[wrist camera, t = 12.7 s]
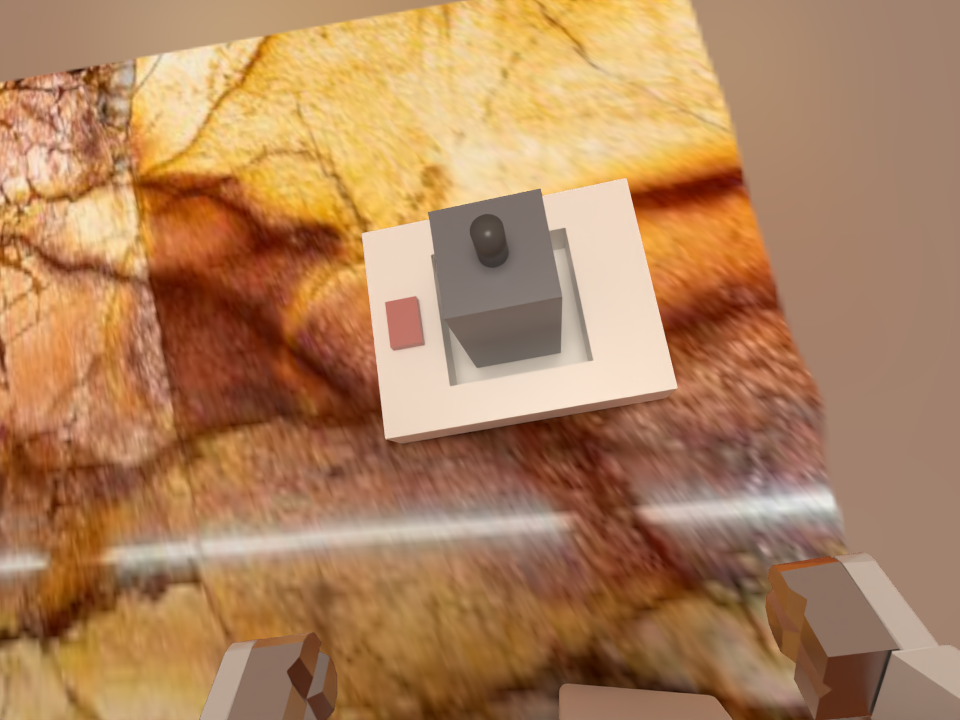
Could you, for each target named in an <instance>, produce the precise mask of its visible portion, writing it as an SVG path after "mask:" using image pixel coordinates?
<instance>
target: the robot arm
mask: <svg viewBox="0 0 960 720" xmlns="http://www.w3.org/2000/svg"><path fill="white" fill-rule="evenodd" d="M768 580H769V582H770V584H771V586H772V588H773V589H772V590H771V591H770V592H769V593H768V594H767V595H766V612H767V617H768V622H769V626H770V628H771V631H772V634H773V636H774V639H775V641H776V643H777V645H778V647H779V649H780V651H781V653H783V654H784V655H786V656H787V657H788V658H790V659H791V660H792V661H794V662H795V663H796V668H795V675H794V680H795V682H796V684H797V686H798V688H799V690H800V692H801V694H802V696H803V698H804V700H805V702H806V704H807V706H808V708H809V710H810V712H811V714H812V716H813V718H814V720H830V719H841V718H852V717H863V716H872V717H871V719H872V720H960V650H958V649H957V648H955V647H953V646H952V645H950V644H945V645H939V644H938V643H937V642H936V640H935V639H934V638H933V636H932V635H931V634H930V632H929V631H928V630H927V628H926V627H925V626H924V624H923V623H922V622H921V620H920V619H919V618H918V616H917V615H916V614H915V612H914V611H913V610H912V609H911V607H910V606H909V604H908V603H907V602H906V601H905V599H904V598H903V597H902V595H901V594H900V593H899V591H898V590H897V589H896V587H895V586H894V585H893V583H892V582H891V581H890V579H889V578H888V577H887V576H886V574H885V573H884V571H883V570H882V569H881V567H880V566H879V565H878V564H877V562H876V561H875V560H874V558H873V557H871V556H870V555H868V554H867V553H862V552H859V553H853V554H847V555H841V556H835V557H830V556H828V557H822V558H816V559H810V560H804V561H798V562H791V563H785V564H779V565H773V566H772V567H771V568H770V569H769V572H768ZM320 646H321V641H320V640H319V638H318V637H317V635H316V634H315V633H314V632H312V633H305V634H297V635H290V636H282V637H275V638H268V639H257V640H250V641H244V642H237V643H232V644H231V646H230V647H229V648H228V650H227V651H226V652H225V654H224V656H223V659H222V662H221V664H220V667H219V669H218V672H217V675H216V677H215V680H214V682H213V685H212V688H211V690H210V693H209V695H208V698H207V701H206V703H205V706H204V708H203V711H202V714H201V716H200V719H199V720H327V719H328V718H329V717H330V715H331V714H332V713H333V711H334V709H335V703H336V697H337V673H336V669H335V665H334V663H333V661H332V659H331V658H330V656H328V655H326V654H324V653H322V652H320V651H319V650H320Z"/></svg>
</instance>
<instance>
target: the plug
mask: <svg viewBox="0 0 960 720" xmlns="http://www.w3.org/2000/svg"><path fill="white" fill-rule="evenodd" d="M428 214H429V221H430V228H431V235H432V241H433V248H434V255H435V262H436V269H437V275H438V282H439V289H440V296H441V303H442V310H443V316H444V320H445V322H446V323H447V325H448V326H449V328H450V329H451V331H452V332H453V333H454V335H455V336H456V338H457V339H458V341H459V342H460V344H461V345H462V347H463V348H464V350H465V351H466V353H467V354H468V356H469V357H470V359H471V360H472V362H473V363H474V365H475V366H476V368H480V367H486V366H491V365H497V364H502V363H508V362H513V361H519V360H524V359H530V358H535V357H540V356H546V355H551V354H557V353H561V328H562V292H561V287H560V282H559V277H558V272H557V267H556V262H555V257H554V253H553V248H552V243H551V238H550V233H549V228H548V223H547V218H546V213H545V208H544V203H543V198H542V193H541V189H536V190H532V191H527V192H522V193H517V194H513V195H508V196H503V197H498V198H494V199H489V200H484V201H479V202H475V203H470V204H465V205H460V206H456V207H451V208H446V209H441V210H437V211H432V212H428Z"/></svg>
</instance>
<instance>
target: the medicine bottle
mask: <svg viewBox="0 0 960 720" xmlns="http://www.w3.org/2000/svg"><path fill="white" fill-rule="evenodd" d="M559 720H732V718H731V717H730V716H729V714H728V713H727V712H726V711H725V709H724V708H723V707H722V705H721V704H720V703H719V701H718V700H717V699H716V698H715V697H713V696H710V695H701V694H689V693H677V692H665V691H653V690H641V689H629V688H617V687H605V686H593V685H581V684H569V683H567V684H563V685H562V686H561V687H560V690H559Z"/></svg>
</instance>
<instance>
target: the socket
mask: <svg viewBox="0 0 960 720" xmlns="http://www.w3.org/2000/svg"><path fill="white" fill-rule="evenodd" d="M542 198H543V203H544V208H545V213H546V218H547V223H548V228H549V233H550V238H551V243H552V248H553V253H554V257H555V262H556V267H557V272H558V277H559V282H560V287H561V292H562V328H561V353H557V354H551V355H546V356H540V357H535V358H530V359H524V360H519V361H513V362H508V363H502V364H497V365H491V366H486V367H480V368H476V366H475V365H474V363H473V362H472V360H471V359H470V357H469V356H468V354H467V353H466V351H465V350H464V348H463V347H462V345H461V344H460V342H459V341H458V339H457V338H456V336H455V335H454V333H453V332H452V331H451V329H450V328H449V326H448V325H447V323H446V322H445V320H444V316H443V310H442V303H441V296H440V289H439V282H438V275H437V269H436V262H435V255H434V248H433V241H432V235H431V228H430V221H429V220H424V221H419V222H414V223H409V224H405V225H400V226H395V227H390V228H386V229H381V230H376V231H371V232H366V233H362V239H363V248H364V257H365V265H366V274H367V283H368V292H369V300H370V309H371V318H372V327H373V335H374V344H375V353H376V361H377V370H378V379H379V388H380V396H381V405H382V414H383V423H384V431H385V439H387V440H391V441H394V442H398V443H401V444H403V443H409V442H414V441H420V440H426V439H432V438H438V437H444V436H449V435H455V434H461V433H467V432H473V431H478V430H484V429H490V428H496V427H502V426H508V425H513V424H519V423H525V422H531V421H537V420H542V419H548V418H554V417H560V416H566V415H572V414H577V413H583V412H589V411H595V410H601V409H606V408H612V407H618V406H624V405H630V404H636V403H641V402H647V401H653V400H659V399H665V398H667V397H668V396H669V395H670V394H671V393H673V392H674V391H675V390H676V389H678V388H677V383H676V379H675V375H674V371H673V367H672V363H671V359H670V355H669V351H668V347H667V343H666V338H665V334H664V330H663V326H662V322H661V318H660V314H659V310H658V306H657V302H656V297H655V293H654V289H653V285H652V281H651V277H650V273H649V269H648V265H647V261H646V257H645V252H644V248H643V244H642V240H641V236H640V232H639V228H638V224H637V220H636V216H635V211H634V207H633V203H632V199H631V195H630V191H629V187H628V183H627V179H626V178H625V179H620V180H615V181H610V182H605V183H601V184H596V185H591V186H586V187H582V188H577V189H572V190H567V191H562V192H558V193H553V194H548V195H543V196H542Z"/></svg>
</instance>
